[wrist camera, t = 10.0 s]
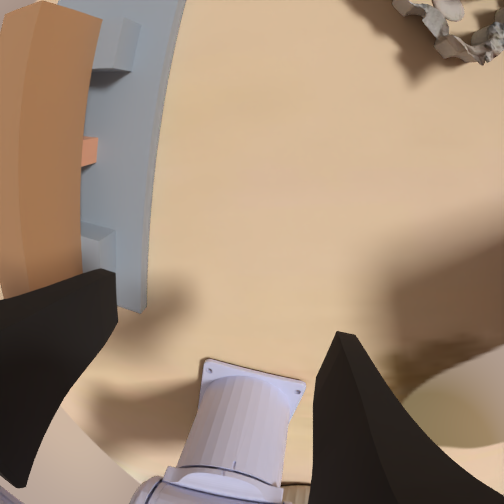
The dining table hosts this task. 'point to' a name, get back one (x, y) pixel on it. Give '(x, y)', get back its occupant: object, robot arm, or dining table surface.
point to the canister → (296, 494)
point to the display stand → (124, 136)
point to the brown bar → (42, 142)
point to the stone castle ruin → (483, 41)
